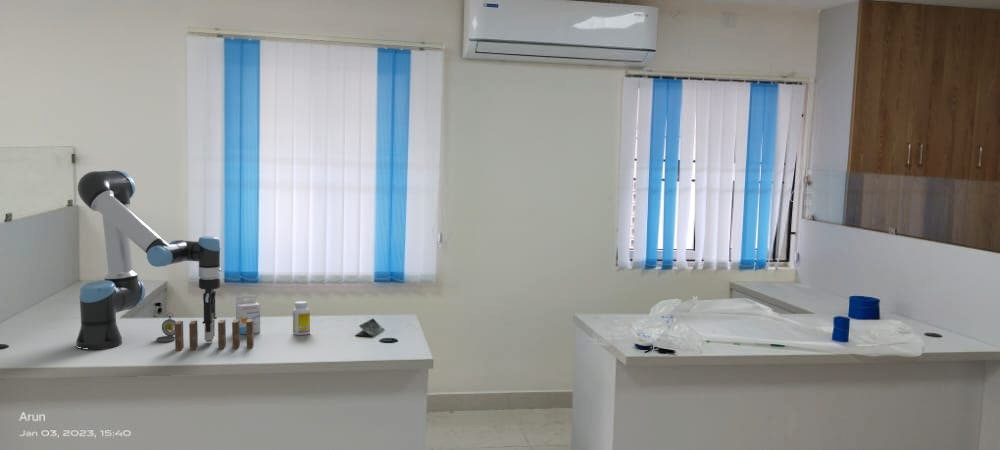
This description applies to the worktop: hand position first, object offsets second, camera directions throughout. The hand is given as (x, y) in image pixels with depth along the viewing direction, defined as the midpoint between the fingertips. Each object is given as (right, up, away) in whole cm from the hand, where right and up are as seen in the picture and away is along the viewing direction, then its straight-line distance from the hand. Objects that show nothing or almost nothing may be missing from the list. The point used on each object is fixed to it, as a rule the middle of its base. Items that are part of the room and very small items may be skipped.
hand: (209, 337), depth 300 cm
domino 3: (+7, -3, -6) cm, 9 cm away
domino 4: (+12, -3, -5) cm, 13 cm away
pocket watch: (-18, -2, +4) cm, 18 cm away
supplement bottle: (+30, -1, +18) cm, 35 cm away
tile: (0, -1, 0) cm, 1 cm away
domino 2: (-3, -3, -8) cm, 9 cm away
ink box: (+9, -1, +18) cm, 20 cm away
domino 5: (+17, -3, -4) cm, 17 cm away
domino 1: (-8, -3, -9) cm, 12 cm away
